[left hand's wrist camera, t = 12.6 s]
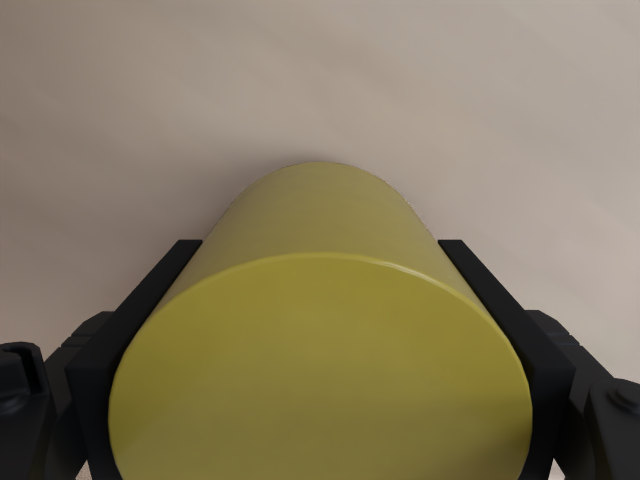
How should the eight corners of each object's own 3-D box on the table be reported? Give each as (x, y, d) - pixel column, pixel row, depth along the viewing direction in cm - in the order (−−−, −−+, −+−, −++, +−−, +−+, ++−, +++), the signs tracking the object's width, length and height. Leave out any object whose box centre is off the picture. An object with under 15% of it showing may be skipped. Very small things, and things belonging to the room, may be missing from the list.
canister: (473, 254, 15) (625, 424, 7) (334, 392, 17) (345, 630, 9) (302, 111, 13) (278, 147, 6) (170, 283, 15) (30, 471, 8)
